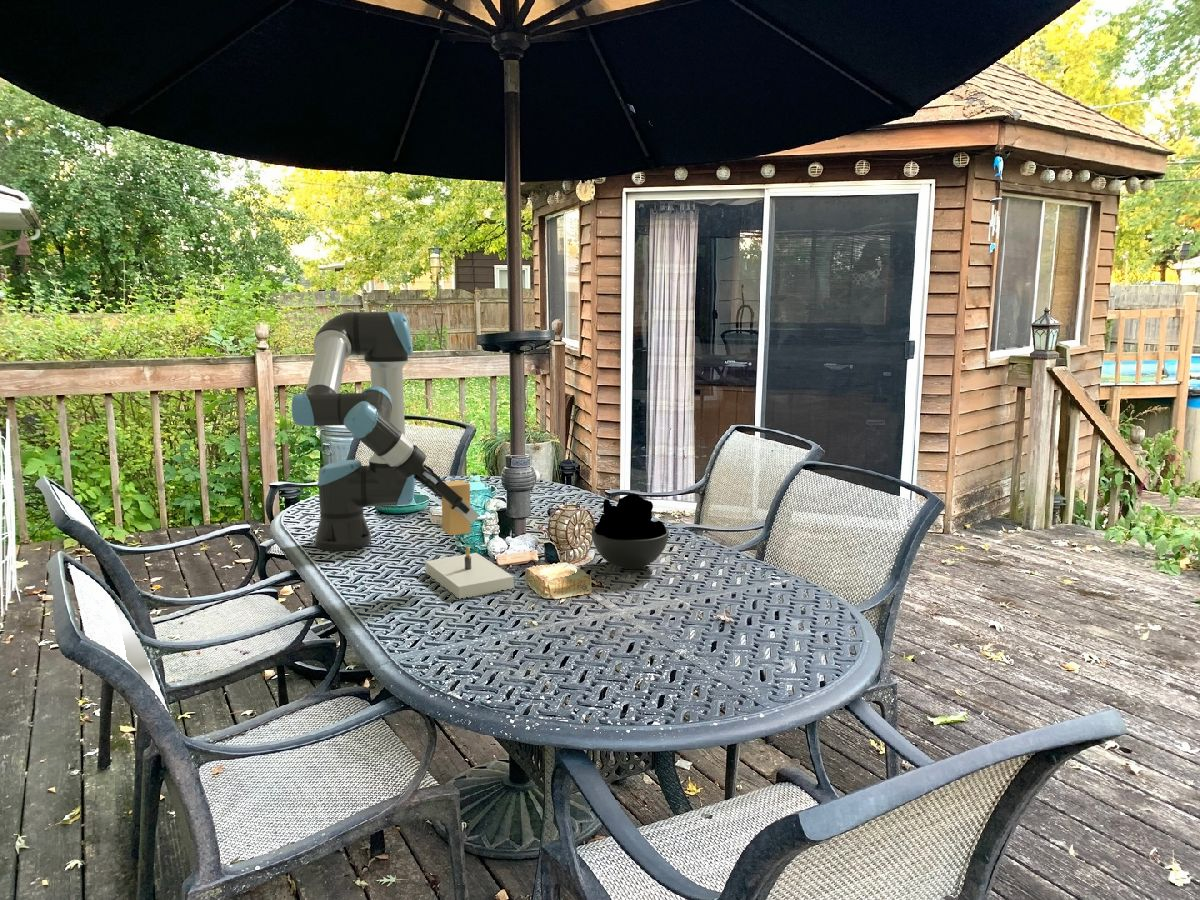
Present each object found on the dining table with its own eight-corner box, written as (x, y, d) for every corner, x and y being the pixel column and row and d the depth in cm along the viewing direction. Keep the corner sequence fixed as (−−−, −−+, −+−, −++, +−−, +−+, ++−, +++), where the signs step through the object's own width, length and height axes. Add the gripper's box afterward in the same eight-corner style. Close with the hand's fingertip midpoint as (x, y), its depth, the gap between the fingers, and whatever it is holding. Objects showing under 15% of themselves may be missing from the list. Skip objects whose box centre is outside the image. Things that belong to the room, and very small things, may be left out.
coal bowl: (668, 556, 224) (670, 489, 220) (667, 581, 204) (669, 507, 201) (595, 554, 225) (595, 487, 222) (587, 578, 206) (587, 505, 202)
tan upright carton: (442, 530, 201) (441, 482, 199) (462, 527, 203) (461, 480, 201) (450, 535, 196) (449, 486, 194) (470, 532, 199) (469, 484, 197)
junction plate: (425, 572, 209) (424, 540, 208) (476, 563, 217) (475, 532, 215) (459, 599, 191) (458, 564, 189) (513, 588, 198) (513, 554, 197)
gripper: (380, 461, 197) (447, 519, 208) (404, 475, 182) (475, 537, 193) (401, 437, 199) (467, 496, 210) (426, 449, 183) (495, 512, 194)
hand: (470, 516), depth 201 cm, fingers closed on tan upright carton, 5 cm apart
